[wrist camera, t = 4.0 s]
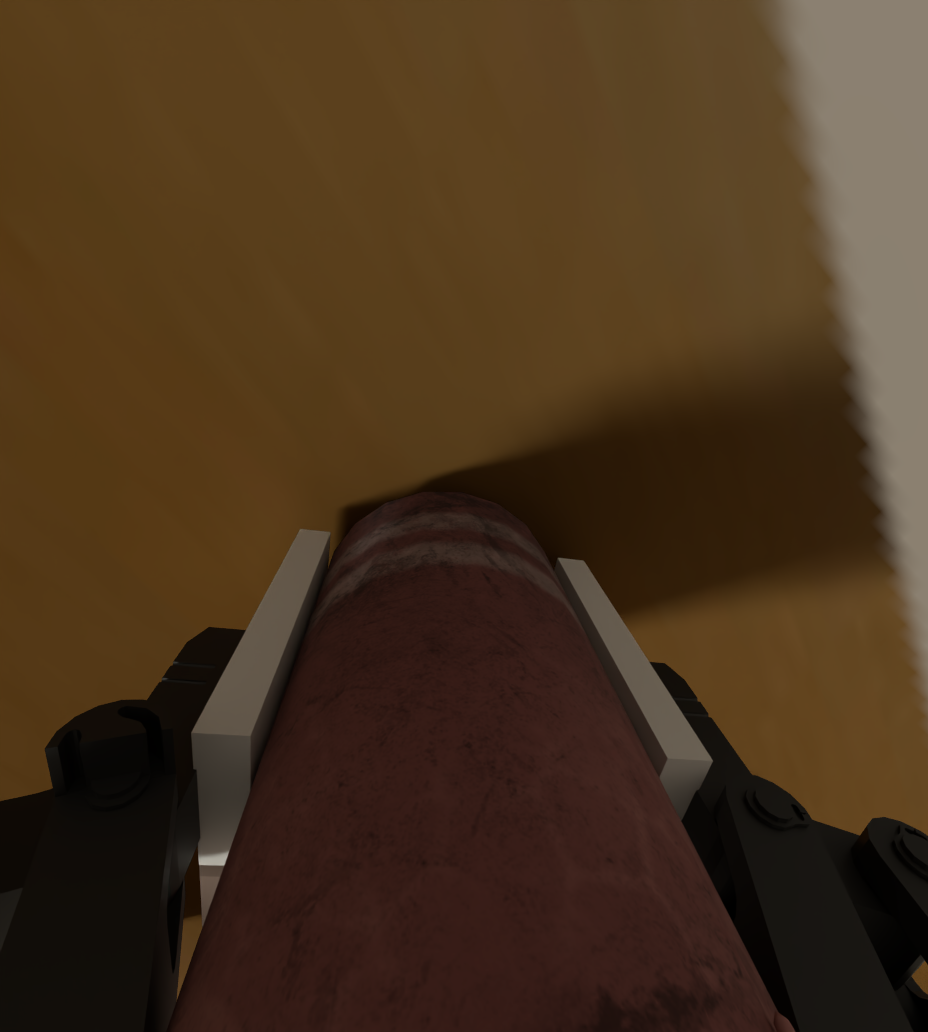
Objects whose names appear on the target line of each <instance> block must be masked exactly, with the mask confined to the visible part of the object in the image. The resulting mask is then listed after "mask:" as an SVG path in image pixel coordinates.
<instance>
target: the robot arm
mask: <svg viewBox="0 0 928 1032" xmlns="http://www.w3.org/2000/svg"><path fill="white" fill-rule="evenodd" d="M330 533H331V532H323V531H314V530H305V529H300V530H299V532H298V534H297V536H296V538H295V540H294V542H293V544H292V545H291V547H290V549H289V551H288V553H287V555H286V557H285V558H284V560H283V562H282V564H281V566H280V568H279V570H278V572H277V573H276V575H275V577H274V579H273V581H272V583H271V585H270V587H269V588H268V590H267V592H266V594H265V596H264V598H263V600H262V601H261V603H260V605H259V607H258V609H257V611H256V613H255V615H254V616H253V618H252V620H251V622H250V624H249V626H248V628H247V629H246V630H238V629H226V628H214V627H208V628H207V629H206V630H204V631H203V632H201V633H200V634H198V635H197V636H195V637H194V638H193V639H191V640H190V641H188V642H187V643H186V644H185V646H184V647H183V649H182V650H181V652H180V653H179V654H178V656H177V657H176V659H175V660H174V662H173V666H170V667H169V669H168V670H167V672H166V673H165V675H164V676H163V678H162V681H161V682H159V683H158V685H157V686H156V688H155V689H154V691H153V692H152V693H151V695H150V696H149V698H148V699H147V701H146V700H120V701H116V702H112V703H108V704H104V705H100V706H97V707H95V708H93V709H91V710H88V711H86V712H84V713H82V714H80V715H78V716H76V717H74V718H73V719H72V720H71V721H69V722H68V723H67V724H66V725H64V726H63V727H62V728H60V729H59V730H58V731H57V732H56V733H55V734H54V736H53V737H52V739H51V740H50V742H49V743H48V745H47V746H46V748H45V752H46V757H47V762H48V767H49V771H50V776H51V781H52V786H53V789H50V790H47V791H43V792H40V793H36V794H32V795H27V796H23V797H18V798H13V799H9V800H4V801H0V1032H166V1030H167V1028H168V1025H169V1022H170V1019H171V1016H172V1013H173V1010H174V1008H175V1005H176V999H177V987H178V976H179V964H180V953H181V941H182V929H183V918H184V906H185V895H186V894H185V881H184V876H185V874H186V871H187V869H188V867H189V864H190V862H191V859H192V857H193V854H194V852H195V850H196V847H197V845H198V857H199V865H219V866H224V865H225V862H226V859H227V856H228V853H229V851H230V848H231V845H232V842H233V839H234V836H235V833H236V831H237V828H238V825H239V822H240V819H241V816H242V813H243V811H244V808H245V805H246V802H247V799H248V796H249V793H250V791H251V788H252V785H253V782H254V779H255V776H256V773H257V771H258V768H259V765H260V762H261V759H262V756H263V753H264V751H265V748H266V745H267V742H268V739H269V736H270V734H271V731H272V728H273V725H274V722H275V719H276V716H277V714H278V711H279V708H280V705H281V702H282V699H283V696H284V694H285V691H286V688H287V685H288V682H289V679H290V676H291V674H292V671H293V668H294V665H295V662H296V659H297V656H298V654H299V651H300V648H301V645H302V642H303V639H304V636H305V634H306V631H307V628H308V625H309V622H310V619H311V616H312V614H313V611H314V608H315V605H316V602H317V599H318V596H319V594H320V591H321V588H322V585H323V582H324V579H325V576H326V574H327V571H328V562H329V548H330ZM554 572H555V574H556V576H557V578H558V580H559V582H560V583H561V585H562V587H563V589H564V591H565V593H566V595H567V597H568V599H569V601H570V603H571V605H572V607H573V609H574V611H575V613H576V615H577V617H578V619H579V621H580V623H581V625H582V627H583V629H584V631H585V633H586V635H587V637H588V639H589V641H590V643H591V645H592V646H593V648H594V650H595V652H596V654H597V656H598V658H599V660H600V662H601V664H602V666H603V668H604V670H605V672H606V674H607V676H608V678H609V680H610V682H611V684H612V686H613V688H614V690H615V692H616V694H617V696H618V698H619V700H620V702H621V704H622V706H623V708H624V709H625V711H626V713H627V715H628V717H629V719H630V721H631V723H632V725H633V727H634V729H635V731H636V733H637V735H638V737H639V739H640V741H641V743H642V745H643V747H644V749H645V751H646V753H647V755H648V757H649V759H650V761H651V763H652V765H653V767H654V769H655V770H656V772H657V774H658V776H659V778H660V780H661V782H662V784H663V786H664V788H665V790H666V792H667V794H668V796H669V798H670V800H671V802H672V804H673V806H674V808H675V810H676V812H677V814H678V816H679V818H680V820H681V822H682V824H683V826H684V828H685V830H686V832H687V833H688V835H689V837H690V839H691V841H692V843H693V845H694V847H695V849H696V851H697V853H698V855H699V857H700V859H701V861H702V863H703V865H704V867H705V869H706V871H707V873H708V875H709V877H710V879H711V881H712V883H713V885H714V887H715V889H716V891H717V893H718V895H719V896H720V898H721V900H722V902H723V904H724V906H725V908H726V910H727V912H728V914H729V916H730V918H731V920H732V922H733V924H734V926H735V928H736V930H737V932H738V934H739V936H740V938H741V940H742V942H743V944H744V946H745V948H746V950H747V952H748V954H749V956H750V958H751V959H752V961H753V963H754V965H755V967H756V969H757V971H758V973H759V975H760V977H761V979H762V981H763V983H764V985H765V987H766V989H767V991H768V993H769V995H770V997H771V999H772V1001H773V1003H774V1005H775V1007H776V1009H777V1011H778V1013H780V1014H781V1015H783V1016H784V1017H785V1018H787V1019H788V1020H789V1022H790V1023H791V1025H792V1027H793V1028H794V1030H795V1032H928V995H927V994H926V993H925V992H923V991H922V989H921V988H920V987H919V986H918V985H917V983H916V982H915V981H914V979H913V978H912V977H911V976H912V975H913V973H914V972H915V971H916V970H917V969H918V968H919V967H920V966H921V965H922V963H923V962H924V961H926V963H927V964H928V836H927V835H926V834H924V833H923V832H921V831H919V830H917V829H915V828H913V827H911V826H909V825H907V824H905V823H903V822H901V821H897V820H893V819H890V818H886V817H881V818H872V820H871V821H870V822H869V824H868V825H867V826H866V828H865V829H864V831H863V832H862V834H861V835H860V836H859V835H856V834H853V833H850V832H847V831H844V830H841V829H838V828H835V827H832V826H829V825H826V824H823V823H820V822H817V821H814V820H812V819H811V817H810V816H809V814H808V813H807V811H806V810H805V808H804V807H803V806H802V805H801V804H800V803H799V802H798V801H797V800H796V799H795V798H794V797H793V796H791V795H790V794H789V793H788V792H786V791H785V790H783V789H782V788H780V787H779V786H777V785H776V784H774V783H773V782H770V781H768V780H765V779H763V778H761V777H758V776H755V775H752V774H751V773H750V772H749V770H748V769H747V767H746V766H745V764H744V763H743V762H742V760H741V759H740V757H739V756H738V755H737V753H736V752H735V750H734V749H733V748H732V746H731V745H730V743H729V742H728V740H727V739H726V738H725V736H724V735H723V733H722V732H721V731H720V729H719V728H718V726H717V725H716V724H715V722H714V721H713V719H712V718H710V717H708V712H707V711H706V709H705V708H704V707H703V705H702V704H701V702H698V701H697V697H696V695H695V694H694V693H693V691H692V690H691V688H690V687H689V686H688V684H687V683H686V681H685V680H684V679H683V678H682V677H681V676H679V675H678V674H677V673H676V672H675V671H673V670H672V669H671V668H670V667H669V666H667V665H666V664H665V663H655V662H649V661H648V659H647V658H646V656H645V655H644V653H643V652H642V650H641V649H640V647H639V645H638V644H637V642H636V641H635V639H634V638H633V636H632V635H631V633H630V632H629V630H628V628H627V627H626V625H625V624H624V622H623V621H622V619H621V618H620V616H619V614H618V613H617V611H616V610H615V608H614V607H613V605H612V604H611V602H610V601H609V599H608V597H607V596H606V594H605V593H604V591H603V590H602V588H601V587H600V585H599V584H598V582H597V580H596V579H595V577H594V576H593V574H592V573H591V571H590V570H589V568H588V566H587V565H586V563H585V562H584V561H583V560H574V559H565V558H557V562H556V566H555V569H554Z"/></svg>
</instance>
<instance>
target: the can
mask: <svg viewBox="0 0 928 1032" xmlns="http://www.w3.org/2000/svg"><path fill="white" fill-rule="evenodd" d="M166 1032H795V1030H794V1028H793V1027H792V1025H791V1023H790V1022H789V1020H788V1019H787V1018H785V1017H784V1016H783V1015H781V1014H780V1013H778V1011H777V1009H776V1007H775V1005H774V1003H773V1001H772V999H771V997H770V995H769V993H768V991H767V989H766V987H765V985H764V983H763V981H762V979H761V977H760V975H759V973H758V971H757V969H756V967H755V965H754V963H753V961H752V959H751V958H750V956H749V954H748V952H747V950H746V948H745V946H744V944H743V942H742V940H741V938H740V936H739V934H738V932H737V930H736V928H735V926H734V924H733V922H732V920H731V918H730V916H729V914H728V912H727V910H726V908H725V906H724V904H723V902H722V900H721V898H720V896H719V895H718V893H717V891H716V889H715V887H714V885H713V883H712V881H711V879H710V877H709V875H708V873H707V871H706V869H705V867H704V865H703V863H702V861H701V859H700V857H699V855H698V853H697V851H696V849H695V847H694V845H693V843H692V841H691V839H690V837H689V835H688V833H687V832H686V830H685V828H684V826H683V824H682V822H681V820H680V818H679V816H678V814H677V812H676V810H675V808H674V806H673V804H672V802H671V800H670V798H669V796H668V794H667V792H666V790H665V788H664V786H663V784H662V782H661V780H660V778H659V776H658V774H657V772H656V770H655V769H654V767H653V765H652V763H651V761H650V759H649V757H648V755H647V753H646V751H645V749H644V747H643V745H642V743H641V741H640V739H639V737H638V735H637V733H636V731H635V729H634V727H633V725H632V723H631V721H630V719H629V717H628V715H627V713H626V711H625V709H624V708H623V706H622V704H621V702H620V700H619V698H618V696H617V694H616V692H615V690H614V688H613V686H612V684H611V682H610V680H609V678H608V676H607V674H606V672H605V670H604V668H603V666H602V664H601V662H600V660H599V658H598V656H597V654H596V652H595V650H594V648H593V646H592V645H591V643H590V641H589V639H588V637H587V635H586V633H585V631H584V629H583V627H582V625H581V623H580V621H579V619H578V617H577V615H576V613H575V611H574V609H573V607H572V605H571V603H570V601H569V599H568V597H567V595H566V593H565V591H564V589H563V587H562V585H561V583H560V582H559V580H558V578H557V576H556V574H555V572H554V570H553V568H552V566H551V564H550V562H549V560H548V558H547V556H546V554H545V552H544V550H543V549H542V547H541V546H540V544H539V543H538V541H537V540H536V539H535V537H534V536H533V534H532V533H531V531H530V530H529V528H528V527H527V525H526V524H525V523H523V522H522V521H521V520H519V519H518V518H517V517H515V516H514V515H512V514H511V513H510V512H508V511H507V510H506V509H504V508H503V507H501V506H500V505H499V504H497V503H494V502H491V501H488V500H485V499H482V498H478V497H475V496H472V495H469V494H466V493H463V492H421V493H418V494H414V495H411V496H407V497H404V498H401V499H397V500H394V501H390V502H387V503H385V504H384V505H382V506H381V507H379V508H378V509H376V510H375V511H373V512H372V513H370V514H369V515H367V516H366V517H364V518H363V519H361V520H360V521H358V522H357V523H355V525H354V526H353V527H352V529H351V530H350V531H349V533H348V534H347V535H346V536H345V538H344V539H343V540H342V542H341V543H340V544H339V546H338V547H337V548H336V550H335V551H334V554H333V556H332V559H331V562H330V565H329V568H328V571H327V574H326V576H325V579H324V582H323V585H322V588H321V591H320V594H319V596H318V599H317V602H316V605H315V608H314V611H313V614H312V616H311V619H310V622H309V625H308V628H307V631H306V634H305V636H304V639H303V642H302V645H301V648H300V651H299V654H298V656H297V659H296V662H295V665H294V668H293V671H292V674H291V676H290V679H289V682H288V685H287V688H286V691H285V694H284V696H283V699H282V702H281V705H280V708H279V711H278V714H277V716H276V719H275V722H274V725H273V728H272V731H271V734H270V736H269V739H268V742H267V745H266V748H265V751H264V753H263V756H262V759H261V762H260V765H259V768H258V771H257V773H256V776H255V779H254V782H253V785H252V788H251V791H250V793H249V796H248V799H247V802H246V805H245V808H244V811H243V813H242V816H241V819H240V822H239V825H238V828H237V831H236V833H235V836H234V839H233V842H232V845H231V848H230V851H229V853H228V856H227V859H226V862H225V865H224V868H223V871H222V873H221V876H220V879H219V882H218V885H217V888H216V891H215V893H214V896H213V899H212V902H211V905H210V908H209V911H208V913H207V916H206V919H205V922H204V925H203V928H202V931H201V933H200V936H199V939H198V942H197V945H196V948H195V951H194V953H193V956H192V959H191V962H190V965H189V968H188V971H187V973H186V976H185V979H184V982H183V985H182V988H181V990H180V993H179V996H178V999H177V1002H176V1005H175V1008H174V1010H173V1013H172V1016H171V1019H170V1022H169V1025H168V1028H167V1030H166Z"/></svg>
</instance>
